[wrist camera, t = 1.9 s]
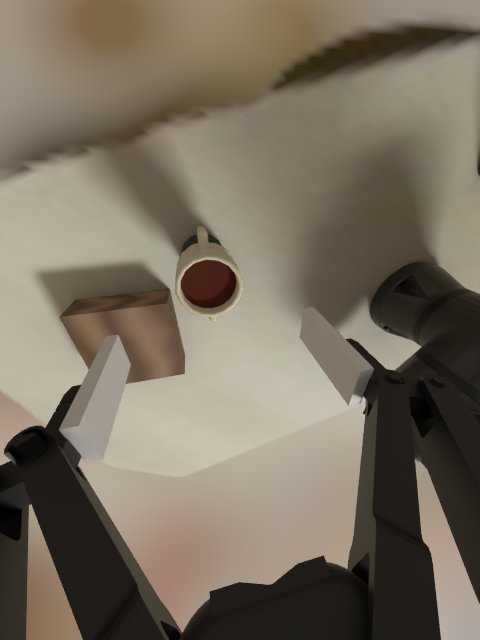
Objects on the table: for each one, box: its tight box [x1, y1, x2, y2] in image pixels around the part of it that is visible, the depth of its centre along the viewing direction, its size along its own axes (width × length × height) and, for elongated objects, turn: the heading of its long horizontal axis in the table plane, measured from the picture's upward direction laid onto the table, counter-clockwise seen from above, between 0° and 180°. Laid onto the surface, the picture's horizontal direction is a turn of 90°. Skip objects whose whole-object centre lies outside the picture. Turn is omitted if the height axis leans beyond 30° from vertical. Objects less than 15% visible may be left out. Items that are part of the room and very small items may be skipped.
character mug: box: [175, 226, 243, 322], centre depth 29 cm, size 11×7×13 cm, turn 3°
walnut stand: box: [60, 289, 185, 384], centre depth 37 cm, size 14×14×5 cm
